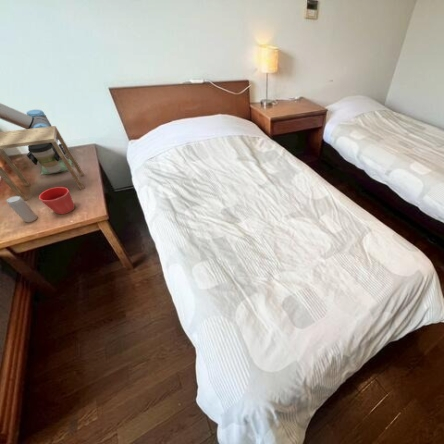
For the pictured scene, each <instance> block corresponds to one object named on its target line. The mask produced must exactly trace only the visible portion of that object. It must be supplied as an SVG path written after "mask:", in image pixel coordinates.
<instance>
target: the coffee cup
mask: <svg viewBox="0 0 444 444" xmlns="http://www.w3.org/2000/svg"><path fill="white" fill-rule="evenodd" d="M27 148H28V149H27V150H28V153H29V152H31V153H32V154H33V155H34V157H35V158H36V159H37V160H38V162H39V164H40V165H41V166H43V167H45V169H46V170H47V171H48V172H57V171H60V170H61V166H60V164H59V161H56V159H55V157H54V155H55V152H54V151H53V149H52V146H51V145H50V144H49V143H44V144H36V145H28V146H27ZM57 173H58V172H57Z"/></svg>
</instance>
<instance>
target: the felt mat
mask: <svg viewBox="0 0 444 444" xmlns="http://www.w3.org/2000/svg"><path fill="white" fill-rule="evenodd" d="M67 160H68V162H69V163H70V165H71V166H72V167H73V163H72V161H71V160H70V158H67ZM59 164H60V166H61V170H60V171H57V172H48V171H47V170H46V169H45V167H43V166H42V165H41V166H42V167H41V172H40V175H41V176H45V175H51V174H56V173H63V172H67V171H68V172H69V170H68V168H67V167H66V165H65V164H64V162H63V160H62V159H59Z"/></svg>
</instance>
